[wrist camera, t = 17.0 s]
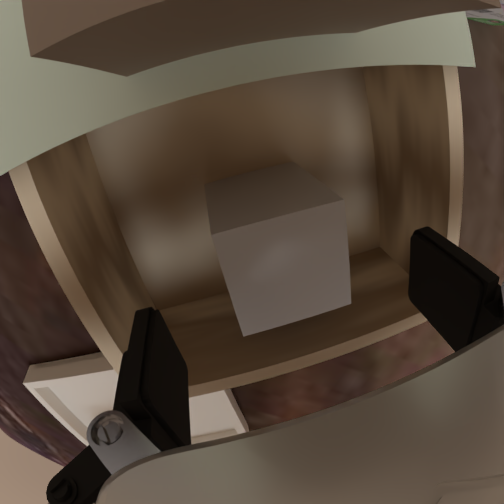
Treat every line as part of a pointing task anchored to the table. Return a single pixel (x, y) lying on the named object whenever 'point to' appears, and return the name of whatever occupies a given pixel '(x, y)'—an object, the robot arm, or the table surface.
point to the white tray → (103, 395)
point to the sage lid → (193, 53)
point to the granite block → (279, 245)
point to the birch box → (238, 162)
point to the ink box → (488, 15)
